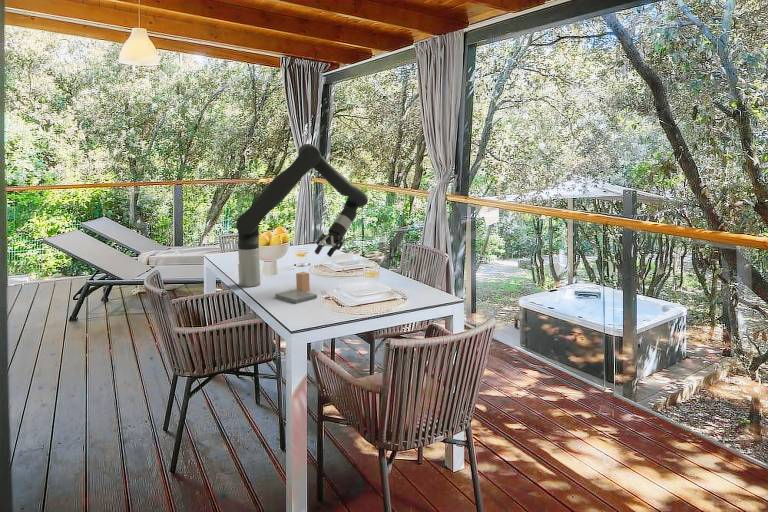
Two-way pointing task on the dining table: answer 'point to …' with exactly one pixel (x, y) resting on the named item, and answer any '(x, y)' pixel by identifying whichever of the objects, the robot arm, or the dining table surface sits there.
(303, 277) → the terracotta block
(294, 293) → the slate tile
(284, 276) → the dining table surface
